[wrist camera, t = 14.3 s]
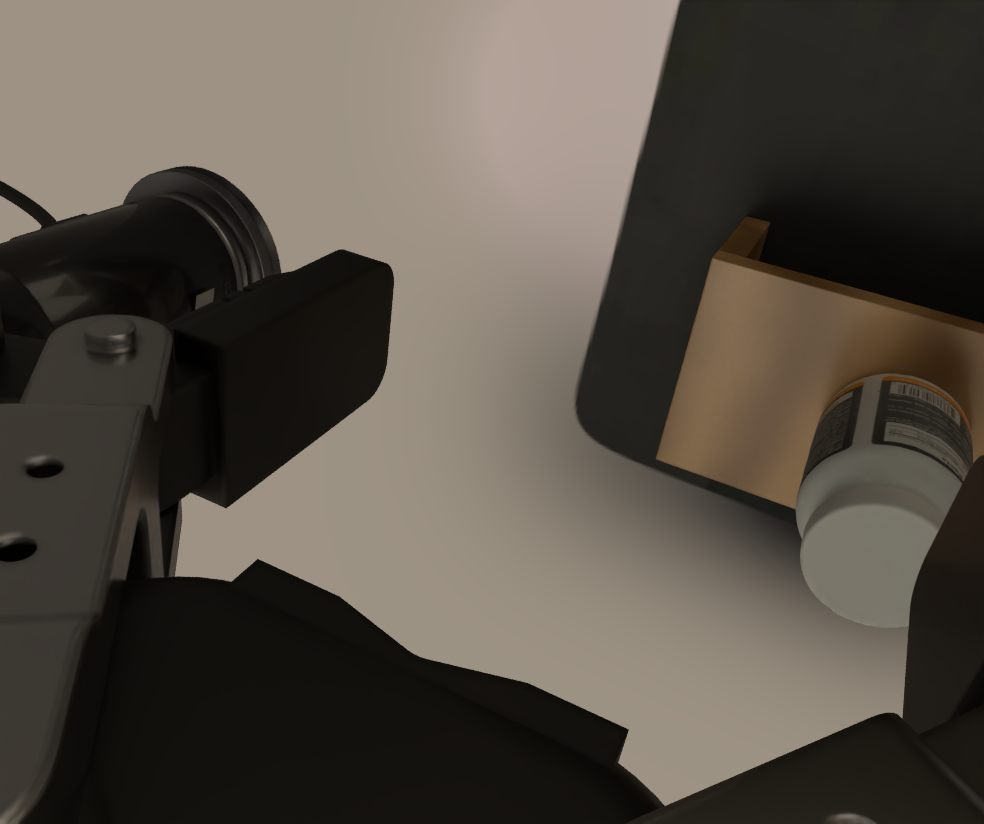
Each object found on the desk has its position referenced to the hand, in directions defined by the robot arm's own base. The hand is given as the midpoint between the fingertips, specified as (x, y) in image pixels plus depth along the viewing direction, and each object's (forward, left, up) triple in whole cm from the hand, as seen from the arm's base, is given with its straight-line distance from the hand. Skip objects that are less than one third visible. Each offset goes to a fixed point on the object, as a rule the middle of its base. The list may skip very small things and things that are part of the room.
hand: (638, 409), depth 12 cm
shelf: (+6, -11, -32) cm, 34 cm away
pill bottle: (+6, -11, -25) cm, 28 cm away
